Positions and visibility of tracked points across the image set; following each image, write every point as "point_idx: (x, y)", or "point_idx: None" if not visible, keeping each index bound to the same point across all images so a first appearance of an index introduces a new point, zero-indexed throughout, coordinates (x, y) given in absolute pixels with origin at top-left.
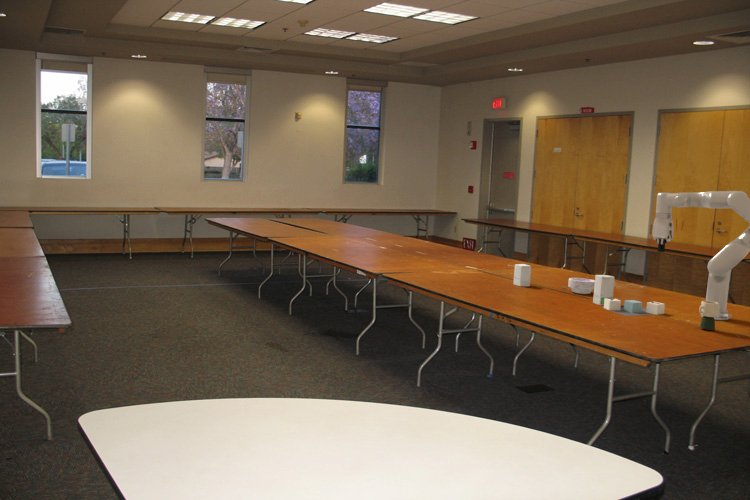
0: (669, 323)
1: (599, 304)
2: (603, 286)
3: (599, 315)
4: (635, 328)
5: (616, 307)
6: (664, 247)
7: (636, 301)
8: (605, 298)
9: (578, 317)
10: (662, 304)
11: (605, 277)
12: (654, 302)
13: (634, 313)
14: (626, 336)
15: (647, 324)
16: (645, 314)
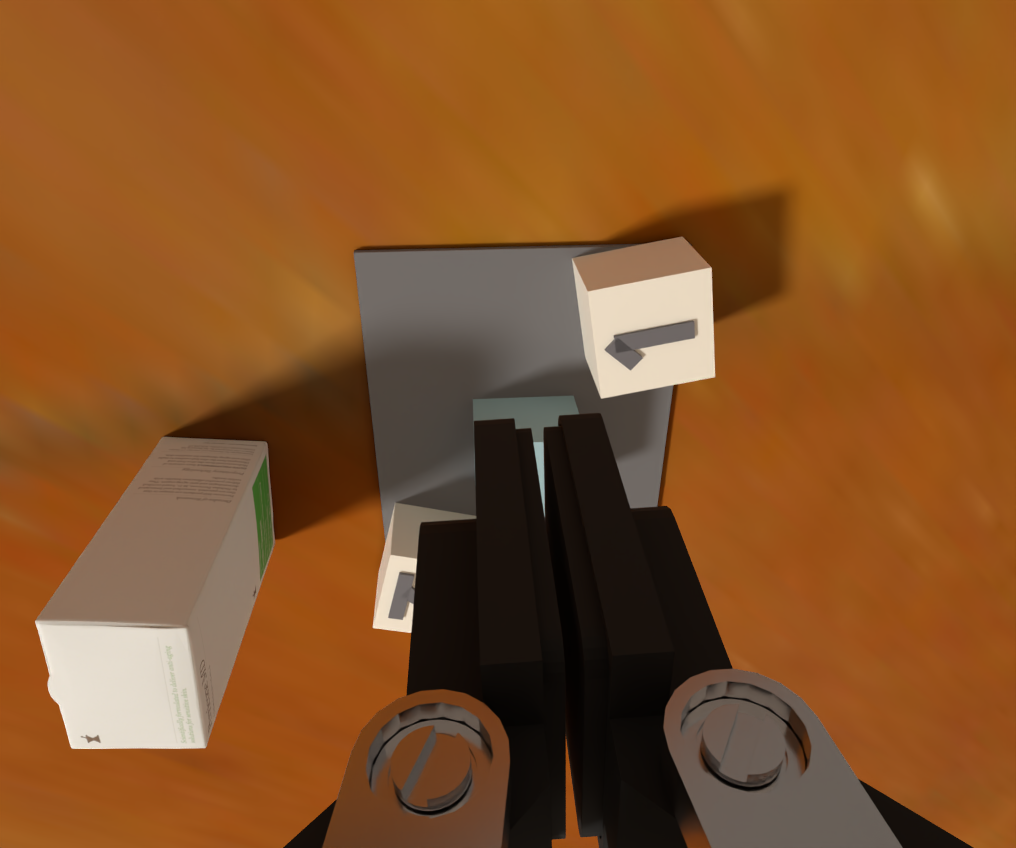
0: (906, 426)
1: (272, 547)
2: (233, 646)
3: None
4: (874, 682)
5: None
6: (696, 597)
7: (539, 463)
8: (381, 625)
9: (573, 794)
10: (711, 303)
11: (204, 713)
12: (637, 340)
13: None
14: (945, 783)
15: (848, 576)
16: (653, 423)
